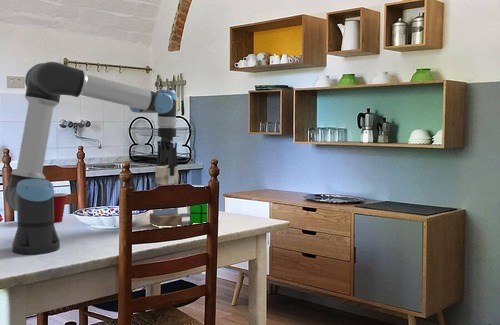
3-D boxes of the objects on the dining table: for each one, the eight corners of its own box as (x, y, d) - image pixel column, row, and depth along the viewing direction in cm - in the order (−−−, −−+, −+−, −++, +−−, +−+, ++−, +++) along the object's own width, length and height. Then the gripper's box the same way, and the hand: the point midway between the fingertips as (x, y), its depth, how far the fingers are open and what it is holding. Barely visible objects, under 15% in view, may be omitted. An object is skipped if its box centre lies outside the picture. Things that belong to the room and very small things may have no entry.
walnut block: (159, 229, 226) (159, 217, 226) (149, 225, 235) (149, 213, 234) (181, 227, 232) (181, 215, 232) (171, 222, 240) (171, 211, 240)
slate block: (157, 216, 229) (157, 206, 228) (153, 214, 233) (153, 204, 233) (177, 214, 233) (177, 204, 233) (173, 212, 237) (173, 203, 237)
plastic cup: (57, 218, 245) (57, 191, 244) (73, 221, 238) (72, 193, 237) (35, 221, 236) (35, 193, 235) (51, 225, 230) (50, 196, 228)
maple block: (162, 184, 227) (162, 167, 227) (155, 182, 233) (155, 166, 232) (178, 183, 231) (178, 167, 231) (170, 181, 237) (170, 165, 236)
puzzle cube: (216, 220, 245) (217, 198, 244) (212, 225, 235) (213, 202, 234) (194, 220, 246) (194, 197, 245) (189, 224, 236) (189, 201, 235)
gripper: (186, 128, 224) (186, 184, 226) (164, 126, 240) (164, 179, 242) (169, 128, 220) (169, 185, 222) (148, 126, 236) (148, 180, 238)
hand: (166, 182), depth 232 cm, fingers closed on maple block, 7 cm apart
